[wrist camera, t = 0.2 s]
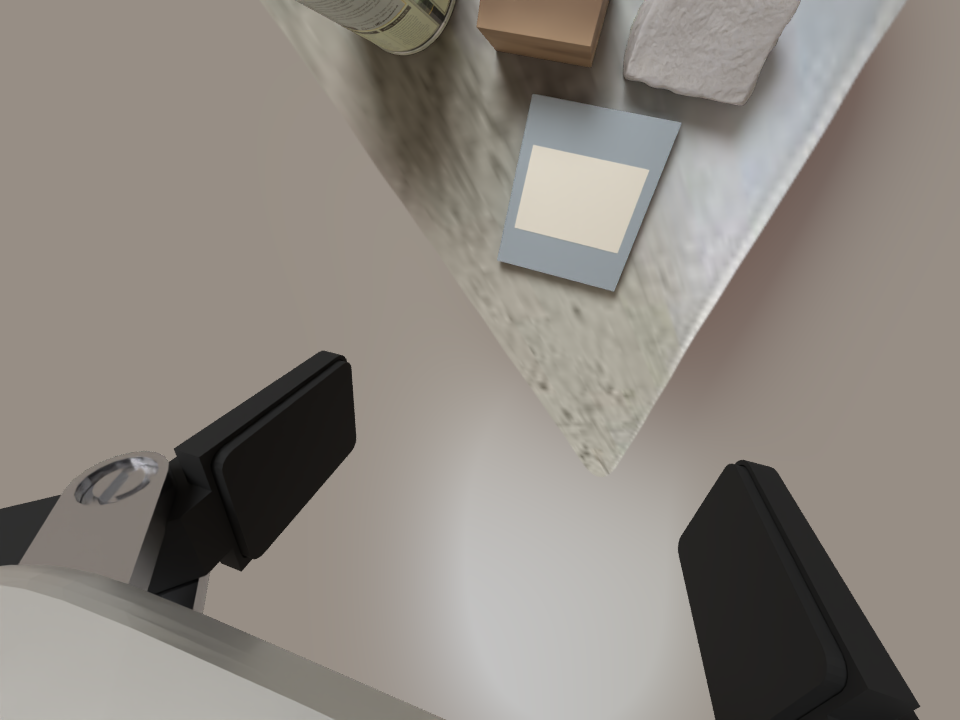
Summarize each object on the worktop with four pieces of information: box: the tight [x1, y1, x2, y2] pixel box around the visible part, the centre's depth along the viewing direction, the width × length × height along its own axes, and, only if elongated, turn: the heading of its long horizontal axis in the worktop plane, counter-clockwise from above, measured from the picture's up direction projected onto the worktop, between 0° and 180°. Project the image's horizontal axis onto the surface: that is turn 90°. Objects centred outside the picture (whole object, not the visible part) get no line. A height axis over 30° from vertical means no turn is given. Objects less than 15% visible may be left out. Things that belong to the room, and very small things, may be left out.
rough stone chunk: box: [623, 0, 801, 106], centre depth 25 cm, size 10×6×6 cm, turn 71°
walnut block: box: [477, 0, 609, 68], centre depth 26 cm, size 5×8×6 cm, turn 79°
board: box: [497, 94, 681, 291], centre depth 33 cm, size 14×12×1 cm
